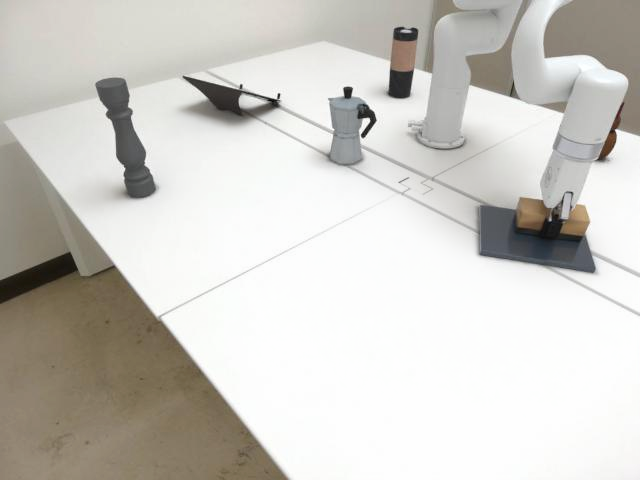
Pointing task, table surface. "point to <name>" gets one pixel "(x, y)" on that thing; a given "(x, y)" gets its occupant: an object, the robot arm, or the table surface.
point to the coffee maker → (348, 127)
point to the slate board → (528, 243)
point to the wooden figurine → (611, 136)
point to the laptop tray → (225, 95)
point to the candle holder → (126, 137)
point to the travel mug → (402, 61)
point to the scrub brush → (535, 212)
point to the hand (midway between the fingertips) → (546, 226)
